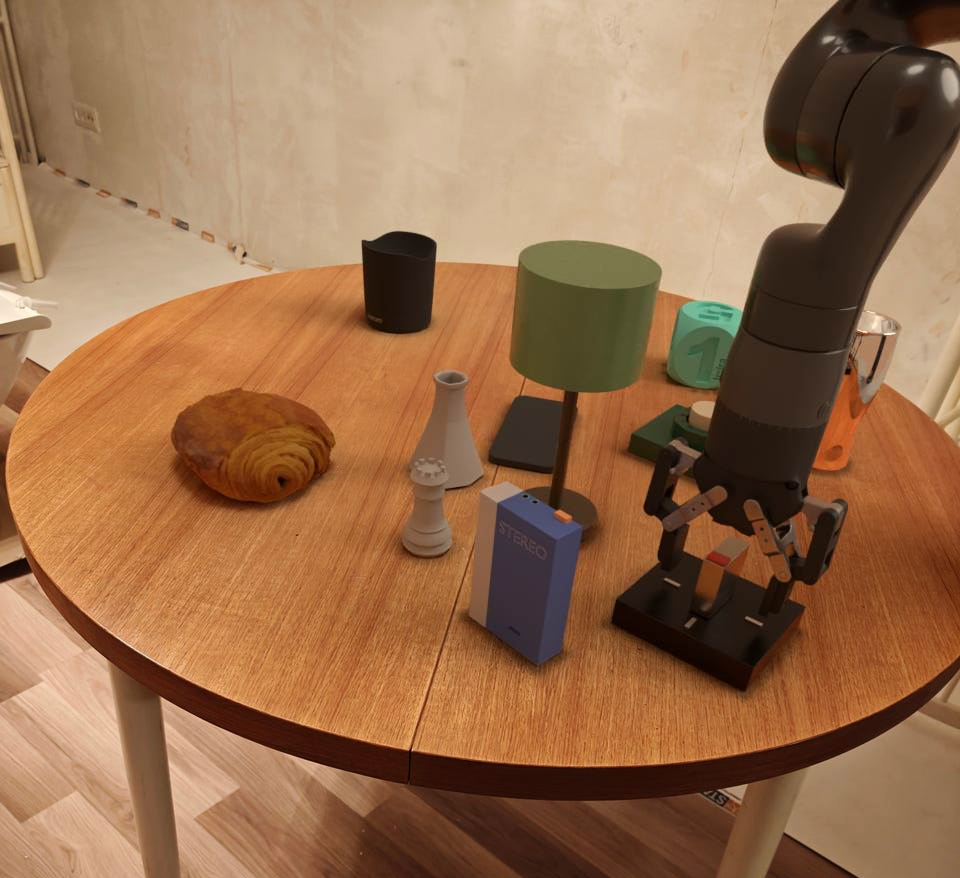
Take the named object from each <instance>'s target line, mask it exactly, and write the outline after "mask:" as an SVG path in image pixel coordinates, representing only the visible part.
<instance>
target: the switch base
mask: <svg viewBox="0 0 960 878" xmlns="http://www.w3.org/2000/svg"><path fill="white" fill-rule="evenodd" d="M691 407H692V406H687V407H686V406H684V405H681V404H679V403H676V404H675V405H673V406H671V407H669V408H668V409H667V410H665V411H664V412H661V413H660V414H659V415H657V416H656V417H654V418H653V419H651V420H650V421H648V422H647V423H645V424H644V425H642V426H640V427H639V428H637V429H636V430H634V431H633V432H631V434H630V439H629V444H628V449H627V452H628V453H630V454H633V455H636V456H638V457H641V458H642V459H645V460H647V461H649V462H652V463H654V464H656V461H657V458H658V454H659V451H660V450H661V449H662V448H664V447H665V446H666V445H668V444H669V443H670V442H672V441H673V440H675V439H676V438H678V437H683V438H685V439H686V440H687V442H688V445H689V448H691V449H693V450H696V451H698V452H700V453H702V452H703V450H704V446H705V440H706V437H707V433H708V431H703V430H700V429H697V428H695V427H693V426H691V425H690V424H689V423H688V420H689V416H690V411H691ZM681 475H684V476H686V477H689V478H691V479H694V480H695V478H694V475H693V471H692V468H688V470H686V471H685V472H684V473H682V474H681Z"/></svg>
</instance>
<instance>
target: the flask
mask: <svg viewBox="0 0 960 878" xmlns="http://www.w3.org/2000/svg"><path fill="white" fill-rule="evenodd" d="M432 381H433V382H434V384H435V390H434V391H435V393H434V400H433V404H432V408H431V411H430V415H429V416H428V419H427V422H426V424H425V427H424V429H423V432H422V434H421V435H420V438H419V439H418V440H419V441H418V442H417V444H416V447H415V449H414V450H413V453H412V455H411V457H410V460H409V462H408V464H407V466H408V467H409V469H410V470H411V471H412V470H413V469H414V468H415V463H416V462H418V463H419V459H422V458H424V459H425V463H429V458H435V463H436V464H438V461H439V460H441V461H442V462H444V465H445V470H446V471H447V473H448V475H449V478H448V480H447V481H446V482H445V483H444V484H443V487H444V489H445V490H446V489H452V488H453V489H454V488H460V487H466V486H470V485H472V484H473V483H474V482H475V481H477V480H478V479H480V477H482V476H483V475H485V471H484V467H483V464H482V461H481V458H480V455H479V452H478V449H477V447H476V443H475V441H474V436H473V433H472V429H471V426H470V422H469V419H468V415H467V407H466V387H467V386H468V385H469V383H470V378H469V377H468V376H467V375H466V374H465V373H464V372H461V371H458V370H455V369H447V370H439V371H438V372H436V373H434V374H432ZM411 471H410V472H411Z"/></svg>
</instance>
